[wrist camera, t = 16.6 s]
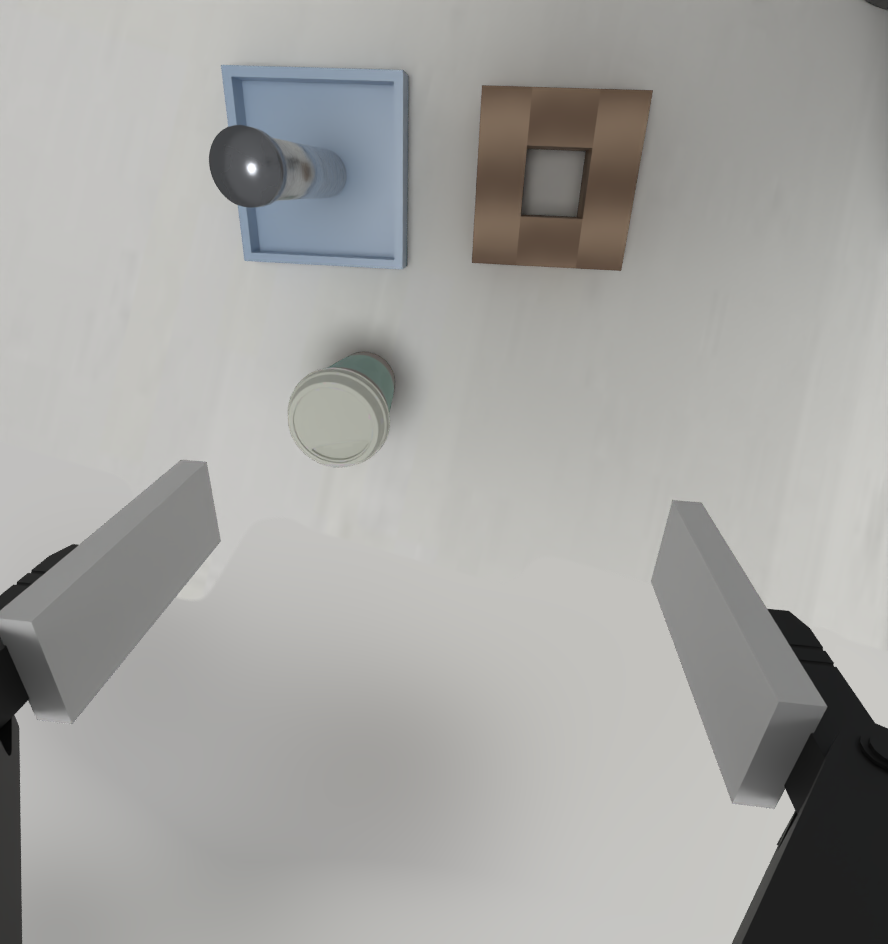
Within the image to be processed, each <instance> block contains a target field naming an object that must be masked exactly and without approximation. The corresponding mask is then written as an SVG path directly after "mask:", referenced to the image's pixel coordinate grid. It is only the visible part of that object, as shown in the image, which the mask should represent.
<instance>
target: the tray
mask: <svg viewBox="0 0 888 944" xmlns="http://www.w3.org/2000/svg"><path fill="white" fill-rule="evenodd" d="M221 69H222V77H223V86H224V94H225V102H226V111H227V119H228V127H230V126H233V125H245V126H249V127H253V128H257V129H259V130H262V131H264V132H265V133H267V134H268V135H269V136H271V137H272V138H276V139H281V140H285V141H290V142H295V143H299V144H304V145H309V146H313V147H318V148H323V149H327V150H330V151H333V152H334V153H336V154H337V155H338V156H339V157H340V158H341V160H342V161H343V163H344V165H345V168H346V183H345V186H344V188H343V190H342V191H341V192H340V193H339V194H338V195H336V196H334V197H331V198H315V199H297V200H278V201H275V202H273V203H272V204H270V205H267V206H263V207H253V208H248V207H242V206H239V205H238V210H239V218H240V227H241V235H242V243H243V252H244V260H245V261H258V262H277V263H295V264H313V265H332V266H350V267H369V268H387V269H404V268H405V267H406V266H407V210H408V75H407V74H406V73H405V72H404V71H403V70H382V69H346V68H310V67H275V66H239V65H221Z"/></svg>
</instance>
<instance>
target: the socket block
mask: <svg viewBox="0 0 888 944" xmlns="http://www.w3.org/2000/svg"><path fill="white" fill-rule="evenodd" d="M652 92H653V90H619V89H585V88H551V87H518V86H484V85H482V96H481V114H480V131H479V148H478V166H477V183H476V200H475V218H474V235H473V252H472V263H486V264H505V265H523V266H542V267H561V268H580V269H599V270H618V271H621V268H622V263H623V257H624V251H625V246H626V240H627V234H628V229H629V223H630V217H631V212H632V206H633V200H634V195H635V189H636V183H637V178H638V172H639V166H640V161H641V155H642V149H643V143H644V138H645V132H646V126H647V121H648V115H649V109H650V104H651V98H652ZM527 149H544V150H571V151H586V153H585V160H584V168H583V175H582V183H581V190H580V197H579V205H578V212H577V217H567V216H546V215H524V214H521V206H522V195H523V185H524V174H525V163H526V152H527Z"/></svg>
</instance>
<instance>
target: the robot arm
mask: <svg viewBox="0 0 888 944" xmlns="http://www.w3.org/2000/svg"><path fill="white" fill-rule="evenodd" d="M866 1H868V2H869V3H871V4H873V5H875V6H878V7H881V8H884V9H888V0H866ZM220 541H221V540H220V534H219V529H218V523H217V517H216V512H215V506H214V501H213V495H212V489H211V484H210V478H209V473H208V467H207V462H201V461H189V460H180V461H179V462H178V463H177V464H176V465H174V466H173V467H172V468H171V469H170V470H168V471H167V472H166V473H165V474H164V475H162V476H161V477H160V478H159V479H158V480H156V481H155V482H154V483H153V484H152V485H150V486H149V487H148V488H147V489H146V490H144V491H143V492H142V493H141V494H140V495H138V496H137V497H136V498H135V499H134V500H132V501H131V502H130V503H129V504H128V505H126V506H125V507H124V508H123V509H122V510H120V511H119V512H118V513H117V514H116V515H114V516H113V517H112V518H111V519H110V520H108V521H107V522H106V523H105V524H104V525H102V526H101V527H100V528H99V529H98V530H96V531H95V532H94V533H93V534H92V535H90V536H89V537H88V538H87V539H86V540H84V541H83V542H82V543H81V544H80V545H75V544H73V545H70V546H68V547H66V548H64V549H62V550H60V551H58V552H56V553H54V554H52V555H51V556H49V557H47V558H46V559H45V560H44V561H43V562H41V563H40V564H39V565H37V566H36V567H35V568H34V569H32V572H31V573H27V574H26V575H25V576H24V577H22V578H21V579H20V580H19V581H18V582H17V585H13V586H11V587H10V588H9V589H8V590H6V591H5V592H4V593H3V594H1V595H0V944H22V913H21V912H22V909H21V908H22V906H21V833H20V832H21V829H20V760H19V759H20V757H19V756H20V755H19V754H20V753H19V725H18V723H17V720H16V718H15V716H14V714H15V713H16V712H17V711H18V710H19V709H20V708H21V707H22V706H23V705H24V704H25V702H27V701H29V703H30V705H31V707H32V710H33V712H34V714H35V716H36V718H37V720H42V721H50V722H59V723H67V724H73V723H74V721H75V720H76V719H77V717H78V716H79V715H80V714H81V713H82V712H83V710H84V709H85V708H86V706H87V705H88V704H89V703H90V702H91V700H92V699H93V698H94V696H96V694H97V693H98V692H99V691H100V689H101V688H102V687H103V686H104V684H105V683H106V682H107V681H108V679H109V678H110V677H111V676H112V675H113V673H114V672H115V671H116V669H117V668H118V667H119V666H120V665H121V663H122V662H123V661H124V660H125V658H126V657H127V656H128V654H130V652H131V651H132V650H133V649H134V647H135V646H136V645H137V644H138V642H139V641H140V640H141V639H142V637H143V636H144V635H145V634H146V633H147V631H148V630H149V629H150V628H151V626H152V625H153V624H154V623H155V622H156V620H157V619H158V618H159V617H160V615H161V614H162V613H163V612H164V610H165V609H166V608H167V607H168V606H169V604H170V603H171V602H172V601H173V599H174V598H175V597H176V596H177V594H178V593H179V592H180V591H181V590H182V588H183V587H184V586H185V585H186V583H187V582H188V581H189V580H190V578H191V577H192V576H193V575H194V574H195V572H196V571H197V570H198V569H199V567H200V566H201V565H202V564H203V562H204V561H205V560H206V559H207V558H208V556H209V555H210V554H211V553H212V551H213V550H214V549H215V548H216V546H217V545H218V544H219V543H220ZM651 582H652V585H653V588H654V590H655V593H656V596H657V598H658V601H659V604H660V607H661V610H662V612H663V615H664V618H665V621H666V623H667V626H668V629H669V631H670V634H671V637H672V639H673V642H674V645H675V648H676V651H677V653H678V656H679V659H680V662H681V664H682V667H683V670H684V673H685V675H686V678H687V681H688V683H689V686H690V689H691V691H692V694H693V697H694V700H695V703H696V705H697V708H698V710H699V714H700V716H701V719H702V722H703V725H704V727H705V730H706V733H707V735H708V738H709V741H710V744H711V746H712V749H713V752H714V754H715V757H716V760H717V763H718V766H719V768H720V771H721V774H722V776H723V779H724V782H725V785H726V787H727V790H728V793H729V795H730V798H731V801H732V803H733V804H740V805H749V806H756V807H765V808H773V809H774V808H775V807H776V805H777V803H778V801H779V799H780V797H781V796H782V794H783V792H784V790H785V789H786V791H787V793H788V795H789V797H790V800H791V802H792V804H793V806H794V808H795V812H794V814H793V816H792V818H791V820H790V821H789V823H788V825H787V827H786V829H785V831H784V832H783V834H782V837H781V838H780V840H779V842H778V843H777V845H778V847H777V849H776V851H775V853H774V856H773V858H772V860H771V862H770V864H769V866H768V868H767V870H766V872H765V875H764V877H763V879H762V881H761V883H760V885H759V887H758V889H757V891H756V894H755V896H754V898H753V900H752V902H751V904H750V906H749V908H748V910H747V913H746V915H745V917H744V919H743V921H742V923H741V925H740V928H739V930H738V932H737V934H736V936H735V938H734V940H733V943H732V944H888V728H885V727H883V726H880V725H878V724H875V722H874V721H873V720H872V718H871V717H870V715H869V714H868V712H867V711H866V710H865V708H864V707H863V705H862V704H861V702H860V701H859V699H858V698H857V696H856V695H855V693H854V692H853V691H852V689H851V687H850V686H849V685H848V683H847V682H846V680H845V679H844V677H843V676H842V674H841V673H840V672H839V670H838V669H837V667H834V666H833V664H834V663H833V661H832V660H831V658H830V657H829V655H828V654H827V653H826V651H823V647H822V645H821V644H820V642H819V641H818V640H817V638H816V637H815V635H814V634H813V632H812V631H811V629H810V628H809V627H808V626H806V625H805V624H804V623H803V622H802V621H800V620H799V619H798V618H797V617H796V616H794V615H793V614H792V613H791V612H790V611H784V610H773V609H767V608H766V606H765V605H764V603H763V601H762V600H761V598H760V597H759V595H758V593H757V592H756V590H755V588H754V587H753V585H752V584H751V582H750V580H749V579H748V577H747V575H746V574H745V572H744V571H743V569H742V567H741V566H740V564H739V563H738V561H737V559H736V558H735V556H734V554H733V553H732V551H731V550H730V548H729V546H728V545H727V543H726V541H725V540H724V538H723V537H722V535H721V533H720V532H719V530H718V528H717V527H716V525H715V524H714V522H713V520H712V519H711V517H710V516H709V514H708V512H707V511H706V509H705V507H704V506H703V504H702V503H700V502H688V501H675V500H672V504H671V508H670V512H669V516H668V519H667V523H666V527H665V531H664V534H663V538H662V542H661V546H660V550H659V553H658V557H657V561H656V565H655V568H654V572H653V576H652V580H651Z"/></svg>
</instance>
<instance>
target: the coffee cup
mask: <svg viewBox="0 0 888 944" xmlns="http://www.w3.org/2000/svg"><path fill="white" fill-rule="evenodd" d="M394 388H395V377H394V374H393V371H392V369H391V367H390V366H389V364H388V363H387V362H386V361H385V360H384V359H383V358H381V357H380V356H378V355H376V354H373V353H370V352H358V353H354V354H352V355H350V356H348V357H346V358H344V359H342V360H341V361H339V362H337V363H335V364H333V365H331V366H330V367H328V368H325V369H320V370H317V371H314V372H312V373H310V374H309V375H307V376H306V377H304V378H303V379H302V380H301V381H300V382H299V383H298V385H297V386H296V387H295V389H294V391H293V393H292V396H291V398H290V401H289V406H288V425H289V429H290V433H291V435H292V438H293V440H294V442H295V443H296V445H297V446H298V447H299V448H300V450H301V451H302V452H303V453H304V454H305V455H307V456H308V457H309V458H311V459H312V460H314V461H316V462H318V463H320V464H323V465H326V466H330V467H349V466H353V465H355V464H359V463H361V462H364V461H366V460H368V459H369V458H371V457H372V456H373V455H374V454H375V453H377V452H378V451H379V450H380V448H381V447H382V446H383V444H384V443H385V441H386V439H387V436H388V433H389V428H390V416H389V412H390V407H391V403H392V398H393V393H394Z"/></svg>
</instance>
